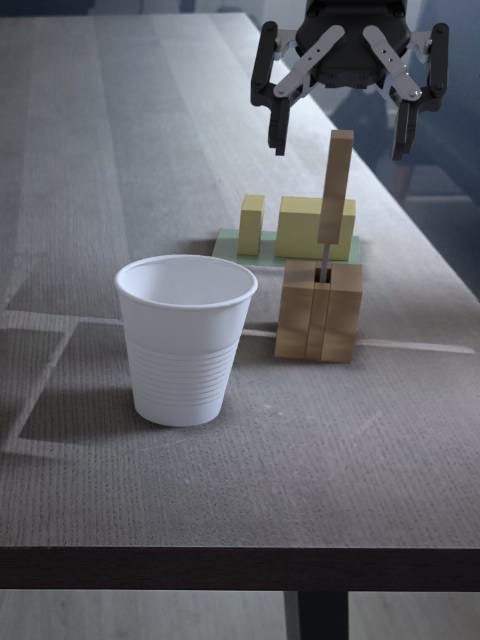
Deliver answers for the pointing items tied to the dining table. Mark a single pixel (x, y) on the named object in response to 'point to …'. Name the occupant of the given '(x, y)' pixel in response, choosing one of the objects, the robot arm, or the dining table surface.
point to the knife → (334, 192)
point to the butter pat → (251, 224)
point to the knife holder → (319, 311)
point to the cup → (182, 333)
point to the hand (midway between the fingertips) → (338, 153)
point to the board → (266, 250)
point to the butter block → (310, 229)
